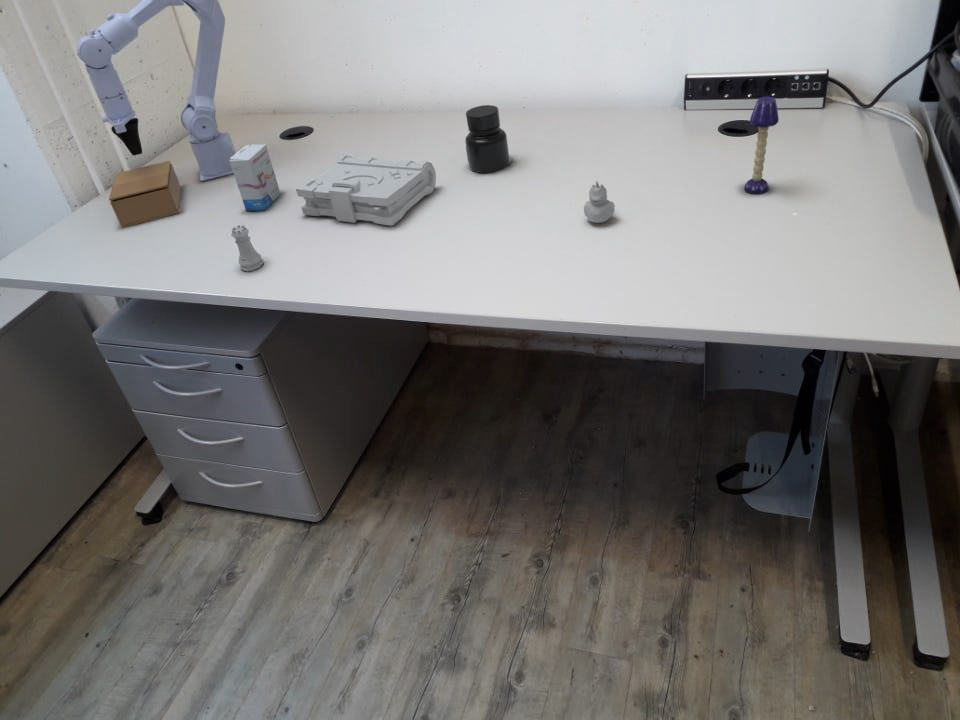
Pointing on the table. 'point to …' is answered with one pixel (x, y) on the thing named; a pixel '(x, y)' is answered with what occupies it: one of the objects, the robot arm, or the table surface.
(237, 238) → the rook chess piece
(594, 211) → the rubber duck
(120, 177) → the flap
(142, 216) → the bin
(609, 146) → the table surface
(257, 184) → the ink box
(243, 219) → the table surface
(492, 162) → the ink bottle
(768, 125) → the toy lamp
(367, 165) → the book
